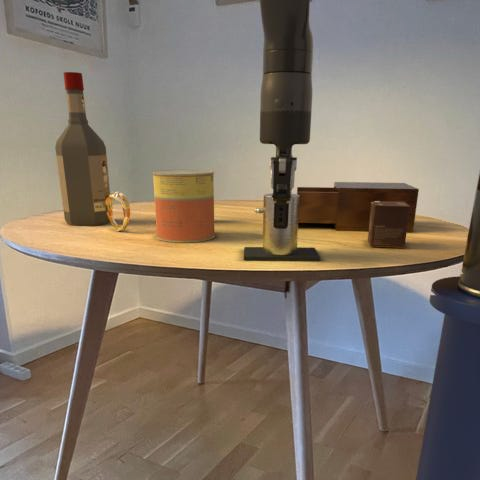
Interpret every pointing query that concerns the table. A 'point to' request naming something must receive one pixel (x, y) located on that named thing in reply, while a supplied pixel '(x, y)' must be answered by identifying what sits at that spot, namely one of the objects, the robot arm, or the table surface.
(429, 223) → the table surface
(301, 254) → the trivet
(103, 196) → the liquor
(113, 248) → the table surface
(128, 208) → the ring
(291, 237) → the measuring cup
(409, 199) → the cabinet
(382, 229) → the box
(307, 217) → the drawer
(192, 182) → the canned food
